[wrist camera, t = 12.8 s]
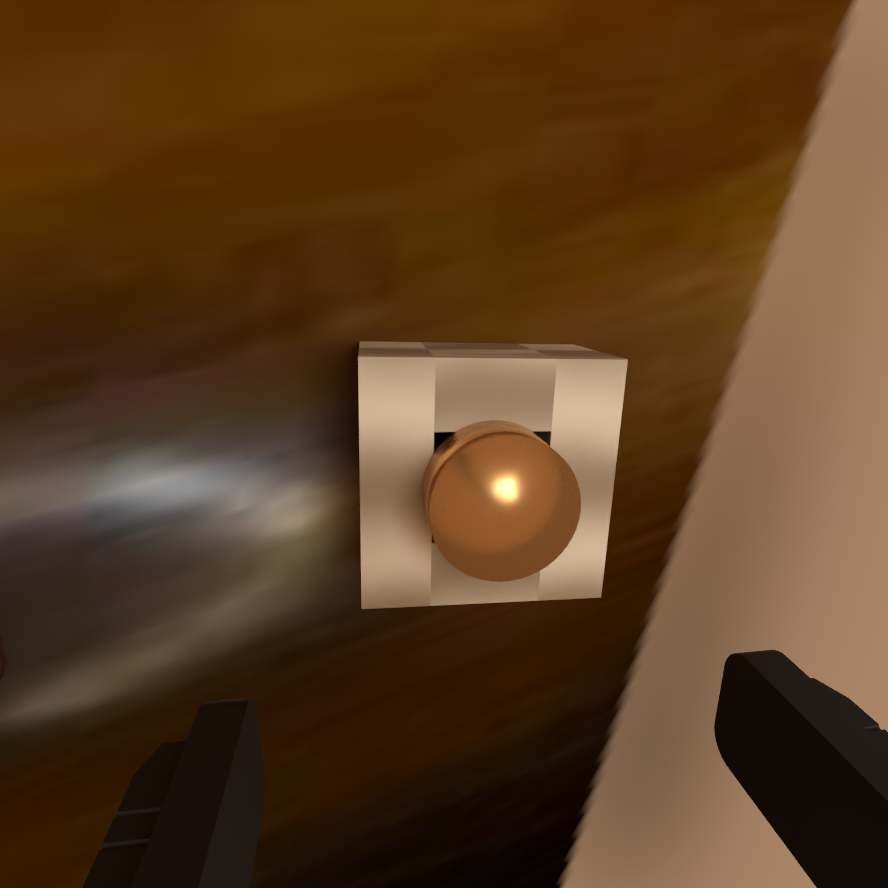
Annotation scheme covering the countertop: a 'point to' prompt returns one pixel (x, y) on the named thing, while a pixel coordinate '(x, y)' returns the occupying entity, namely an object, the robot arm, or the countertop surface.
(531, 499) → the copper pin
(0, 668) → the food container
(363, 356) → the birch block
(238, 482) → the countertop surface
